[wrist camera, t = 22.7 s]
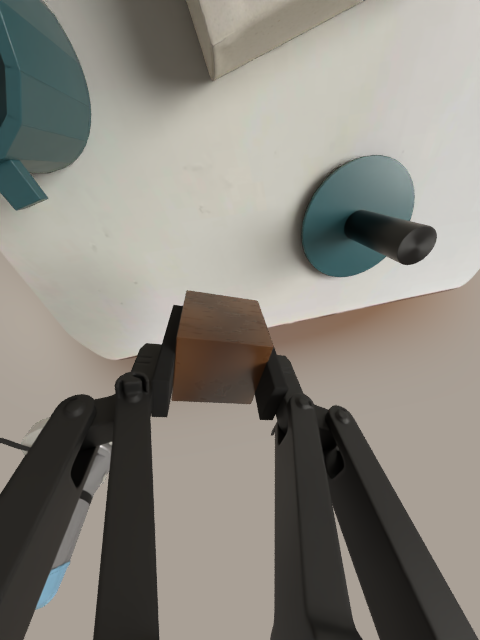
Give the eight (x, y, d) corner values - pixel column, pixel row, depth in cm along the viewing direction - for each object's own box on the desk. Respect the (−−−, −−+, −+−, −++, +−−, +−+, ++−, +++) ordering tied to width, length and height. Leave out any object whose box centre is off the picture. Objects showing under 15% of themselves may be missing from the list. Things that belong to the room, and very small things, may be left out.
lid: (307, 286, 34) (342, 329, 25) (290, 183, 26) (334, 189, 17) (401, 254, 33) (475, 287, 24) (415, 134, 25) (536, 112, 15)
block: (181, 346, 17) (171, 401, 13) (186, 289, 14) (176, 336, 10) (242, 352, 18) (251, 404, 14) (257, 300, 16) (274, 346, 11)
